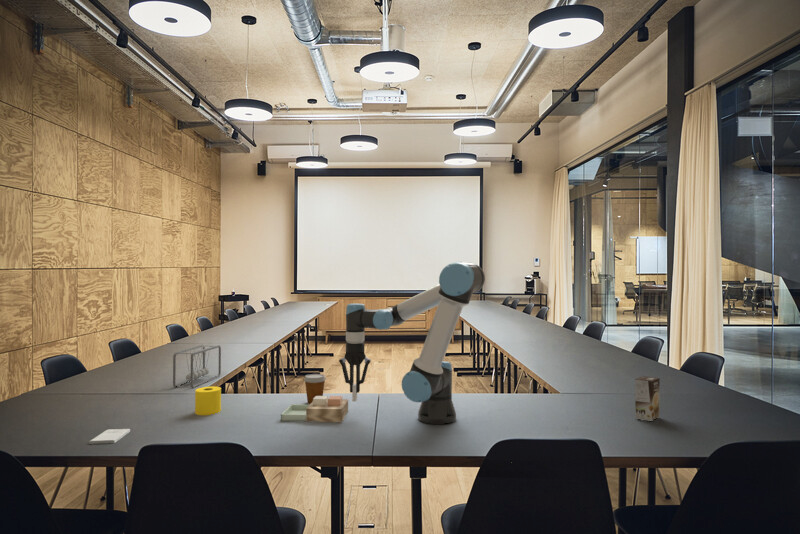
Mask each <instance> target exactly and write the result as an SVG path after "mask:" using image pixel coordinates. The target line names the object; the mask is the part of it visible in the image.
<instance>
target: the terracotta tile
mask: <svg viewBox="0 0 800 534" xmlns="http://www.w3.org/2000/svg"><path fill="white" fill-rule="evenodd" d="M343 399H344V398H343V396H342V395H340V396H339V395H331V396H328V405H330V406H340V405H341V404H342V402H343Z"/></svg>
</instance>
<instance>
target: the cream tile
mask: <svg viewBox="0 0 800 534" xmlns="http://www.w3.org/2000/svg"><path fill="white" fill-rule="evenodd" d="M328 399H329V396H328V395H323V396H315V397H314V399H313V405H326V404H327V403H328Z"/></svg>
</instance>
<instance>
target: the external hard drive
mask: <svg viewBox="0 0 800 534" xmlns="http://www.w3.org/2000/svg"><path fill="white" fill-rule="evenodd" d="M130 432H131V429H130V428H118V429H117V428H115V429H113V428H112V429H111V428H110V429H106V430H104V431H103V432H101V433H100V434H98V435H97V436H95V437H94V438H93V439H90V440H89V441H88V443H89V445H95V444H97V445H99V444H115V443H116V442H118V441H120V440H121V439H122V438H124V437H125V436H126V435H127V434H129V433H130Z"/></svg>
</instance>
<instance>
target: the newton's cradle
mask: <svg viewBox="0 0 800 534" xmlns="http://www.w3.org/2000/svg"><path fill="white" fill-rule="evenodd" d="M217 348H218V374H217V375H214V376H215V377H210V378H208V379H206V380H204V381H201V382H199V383H197V384H194V381H193V379H196V380H198V379H197V378H199V377H201V376H203V377H205V376H208V375H209V373H210V369H209V368H208V367H207V365H208V364H206V363H208V360H209V359H207V361H206V354H207V351H209V352H210V351H211V350H215V349H217ZM179 354H180V355H186V357H187V355H190V369H189V366H187V367H188V370H190V372H188V374H187V375H185V376H186V377H185V379H186V381H183V382H181V383H178V384H176V375H177V374H176V369H177V367H176V365H177V364H176V358H177V357H176V356H177V355H179ZM200 354H201V356H200V357H197V358H196V357H195V356H196V355H200ZM221 354H222V347H221V346H220V345H209V347H208V346H206V345H204V344H201V345H198V346H194V347H190V348H187V349H183V350H179V351H176V352H174V353H173V356H172V357H173V358H172V386H173V387H174V388H175V387H176V386H179V385H181V384H183V383H185V382H188V381H191V382H190V386H188V385H181V386H182V387H181V388H192V389H194V387H195V388H197V387H199V386H198V385H200V386H202V385H204V384H206V383H208V382H207V381H209V382H211V381H213V380H215V379H214V378H216V379H218V378H220V376H221V375H222V374H221V373H222V369H221V367H222V365H221V364H222V355H221ZM209 355H210V354H208V356H207V357H209ZM201 358H202V360H201ZM194 359H195V361H197V360H198V359H199V368H197V367H195V368H194ZM188 361H189V360H186V362H187V364H189V362H188ZM201 361H202V362H201ZM201 363H202V365H201ZM197 364H198V363H197V362H195V366H197ZM201 366H202V368H201ZM196 369H197V370H196ZM217 377H218V378H217ZM201 378H202V377H201ZM199 379H200V378H199ZM212 379H213V380H212ZM210 380H211V381H210ZM205 382H206V383H205ZM203 383H204V384H203ZM201 384H202V385H201ZM196 386H197V387H196ZM176 388H177V387H176Z"/></svg>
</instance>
